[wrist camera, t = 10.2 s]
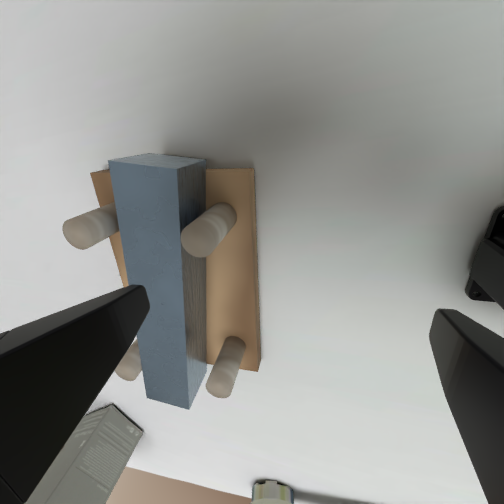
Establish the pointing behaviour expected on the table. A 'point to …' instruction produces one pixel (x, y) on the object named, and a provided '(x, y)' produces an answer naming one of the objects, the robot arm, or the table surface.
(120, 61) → the table surface
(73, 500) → the skincare box
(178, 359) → the steel bar
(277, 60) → the table surface
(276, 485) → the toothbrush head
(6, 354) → the robot arm
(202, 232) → the peg rack
